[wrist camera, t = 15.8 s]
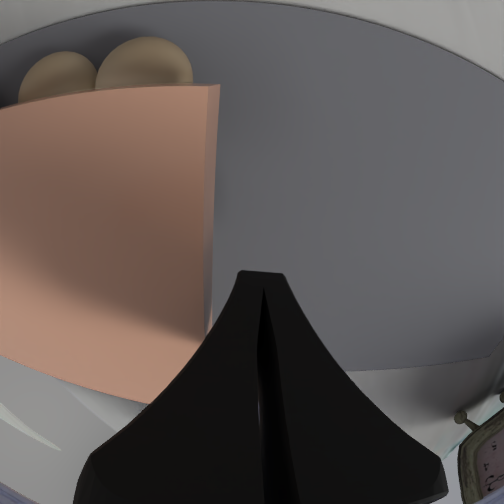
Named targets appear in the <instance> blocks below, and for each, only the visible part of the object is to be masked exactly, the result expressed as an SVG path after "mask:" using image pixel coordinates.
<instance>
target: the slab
mask: <svg viewBox="0 0 504 504" xmlns="http://www.w3.org/2000/svg"><path fill="white" fill-rule="evenodd" d="M219 98H220V84H200V83H173V84H145V85H130V86H118V87H108V88H99V89H91V90H84V91H77V92H71V93H65V94H59V95H53V96H48V97H43V98H39V99H34V100H29V101H25V102H21V103H17V104H13V105H9V106H6V107H2V108H0V355H2V356H4V357H6V358H8V359H10V360H13V361H15V362H17V363H20V364H22V365H24V366H27V367H29V368H32V369H34V370H37V371H40V372H42V373H45V374H47V375H50V376H53V377H56V378H58V379H61V380H64V381H67V382H70V383H73V384H76V385H79V386H82V387H86V388H89V389H92V390H96V391H99V392H103V393H106V394H110V395H114V396H118V397H122V398H126V399H130V400H134V401H138V402H143V403H147V404H150V403H151V402H152V401H153V400H154V399H155V398H156V397H157V396H158V395H159V394H160V393H161V392H162V391H163V390H164V389H165V388H166V387H167V386H168V385H169V384H170V382H171V381H172V380H173V379H174V378H175V377H176V376H177V374H178V373H179V372H180V371H181V370H182V369H183V367H184V366H185V365H186V364H187V362H188V361H189V360H190V358H191V357H192V356H193V355H194V353H195V352H196V351H197V349H198V348H199V346H200V345H201V344H202V342H203V341H204V339H205V338H206V336H207V334H208V333H209V331H210V330H211V328H212V265H213V220H214V191H215V167H216V147H217V129H218V113H219Z"/></svg>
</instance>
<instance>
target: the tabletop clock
mask: <svg viewBox="0 0 504 504" xmlns="http://www.w3.org/2000/svg"><path fill="white" fill-rule="evenodd" d="M500 401H501V402H502V403H504V391H503V392H502V393H501V394H500ZM454 420H455V422H456V423H457V424H462V423H465V424H466V425H467V426H468V427H469V428H470V429H471V430H472V431H473V432H472V433H470V434H469V435H468V436H467V437H466V438H465V440H464V441H463V442H462V443H461V444H460V445H459V451H458V459H457V460H458V476H459V482H460V489H461V497H462V501H463V504H474V503H476V502H478V501H480V500H482V499H483V498H484V497H485V496H487V495H488V494H490V493H492V492H494V491H496V490H497V489H499V488H501V487H503V486H504V407H503V408H502V409H501V410H500V411H499V412H497V413H496V414H495V415H493V416H492V417H491V418H490V419H488V420H487V421H486V422H484V423H483V424H482V425H480V426H479V425H477V424H475V423H473V422H472V421H470V420H468V419H467V413H466V412H465V411H459V412H457V413H456V415H455V417H454Z"/></svg>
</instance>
